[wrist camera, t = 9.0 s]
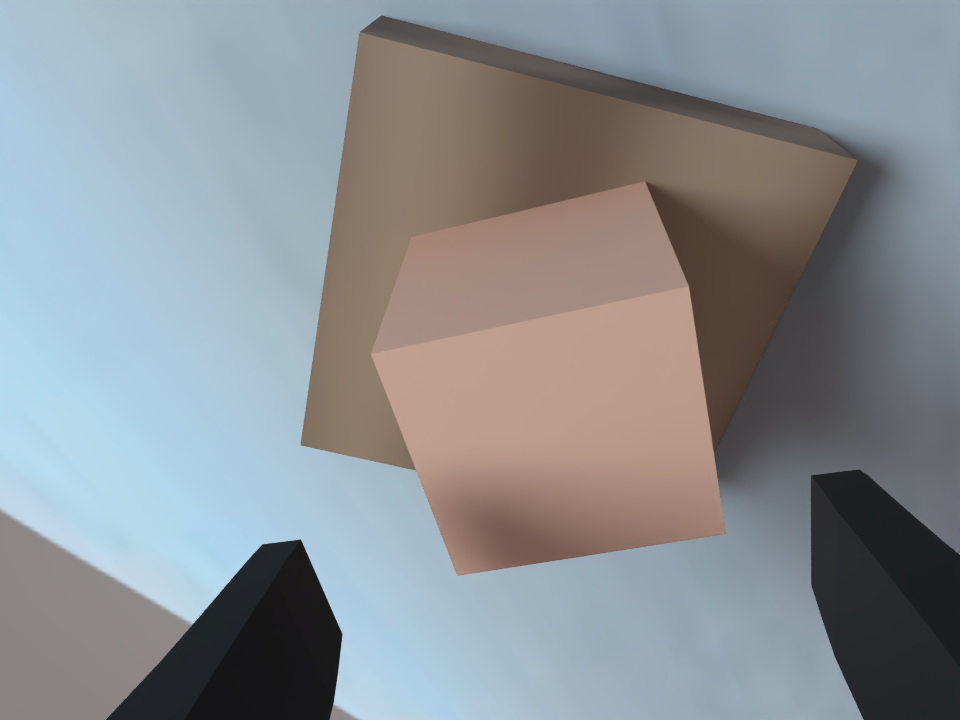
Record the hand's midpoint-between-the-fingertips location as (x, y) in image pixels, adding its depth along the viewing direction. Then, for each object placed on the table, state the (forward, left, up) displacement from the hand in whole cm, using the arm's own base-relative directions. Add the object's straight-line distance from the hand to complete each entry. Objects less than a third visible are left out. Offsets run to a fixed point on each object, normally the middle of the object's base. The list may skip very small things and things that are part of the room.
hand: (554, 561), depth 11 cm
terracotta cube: (0, 0, -8) cm, 8 cm away
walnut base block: (0, 0, -10) cm, 10 cm away
